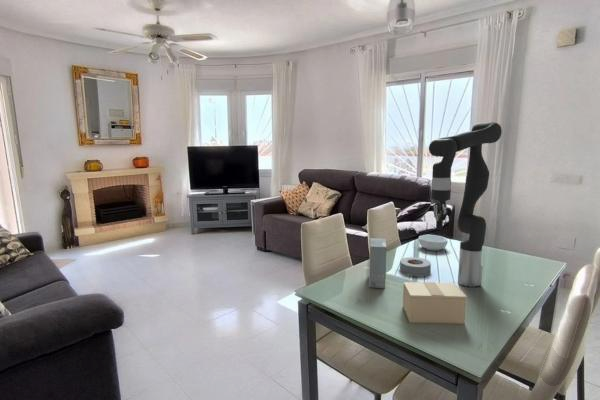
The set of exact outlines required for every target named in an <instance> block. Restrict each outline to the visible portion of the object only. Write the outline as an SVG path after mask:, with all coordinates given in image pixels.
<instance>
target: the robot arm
mask: <svg viewBox="0 0 600 400" xmlns="http://www.w3.org/2000/svg"><path fill="white" fill-rule="evenodd" d="M501 137H502V126H501V125H500V124H499V123H497V122H493V121H490V122H477V123H475V124H473V126H472V128H471V131H465V132H460V133H456V134H453V135H451V136H446V137H440V138H436V139H434V140H432V141H431V142H430V143H429V145H428V151H429V154H430V155H431V156H434V157H442V159H441V161H439V162H435V163H434V164H433V165H432V173H431V174H432V175H431V176H432V177H431V185H430V186H431V189H430V199H431V200H433V201H434V203H433V204H432V208H433V209H432V211H433V215H434V216H433V217H434V218H435V220H436V221H435V222H436V224H435V228H436V230H443V227H444V225H443V224H444V221H446V219H447V216H448V214H449V209H447V207H448V206H447V201H450V200H451V196H452V195H451V194H452V193H451V192H452V167H453V163H454V160H455V158H456V155H457V152H461V151H464V150H466V149H468V148H469V157H468V165H467V171H466V177H465V184H464V191H463V197H462V203H461V207H460V210H459V213H458V214H459V215H458V218H457V229H458V230H459V231H460V232H461V233H464V234H467V235H469V236H468V239H466V240H461V241H460V244H459V257H458V258H459V259H458V274H457V275H458V276H457V283H458V284H459V285H461V286H463V285H464V287H467V286H469V287H468V288H477V287H480V286H479V285H481V286H482V280H483V278H482V277H483V266H482V253H483V246H484V244H485V240H486V239H485V238H486V231H487V222H486V220H485V218H484V217H483V216H480V215H475V214H474V211H475V207H476V205H477V202H478V201H479V199H480V198H481V197H482V196H483V195H484V193H485V192H486V190H487V188H488V185H489V179H490V169H489V168H488V166H487V163H486V161H485V159H484V157H483V153H482V148H483V147H482V146H483V145H484V144H494V143H496V142H498V141H499V140H500V139H501ZM476 286H477V287H476Z"/></svg>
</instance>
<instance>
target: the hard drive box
mask: <svg viewBox="0 0 600 400" xmlns="http://www.w3.org/2000/svg"><path fill="white" fill-rule="evenodd" d="M368 267H369V268H368V287H369V288H377V289H386V279H387V270H386V269H387V242H386V238H373V237H371V238H369V265H368Z"/></svg>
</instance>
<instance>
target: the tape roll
mask: <svg viewBox="0 0 600 400" xmlns="http://www.w3.org/2000/svg"><path fill="white" fill-rule="evenodd" d="M431 264H432V262H431V261H430V260H428V259H425V258H421V257H417V256H414V257H413V256H409V257H403V258H401V259H400V260H399V270H400V272H402V273H403V274H405V275H408V276H412V277H413V276H415V277H424V276H428V275H430V274H431V272H432V271H431V269H432V268H431V267H432V265H431Z"/></svg>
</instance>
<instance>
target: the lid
mask: <svg viewBox="0 0 600 400" xmlns="http://www.w3.org/2000/svg"><path fill="white" fill-rule="evenodd" d="M403 285H404V286H405V288H406V290H407V292H408V293H409V295H410V297H418V298H462V299H466V300H467V297H468V296H467V295H466V294H465V293H464V292H463V291H462V289H460V287H459V286H458V285H457V283H455V282H453V283H452V282H436V281H435V282H433V281H431V282H430V281H429V282H428V281H423V282H417V281H416V282H411V281H410V282H407V281H405V282H404V281H403Z"/></svg>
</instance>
